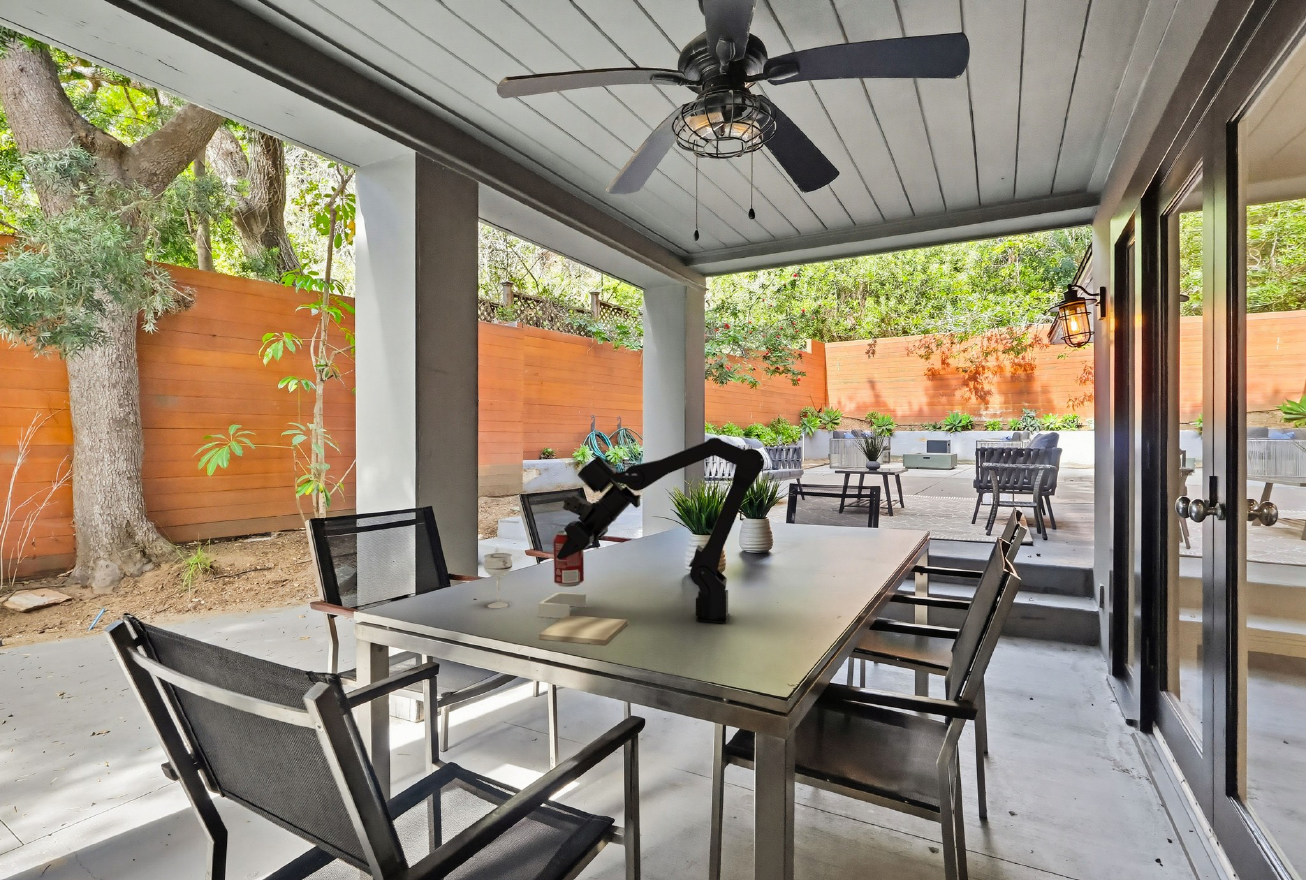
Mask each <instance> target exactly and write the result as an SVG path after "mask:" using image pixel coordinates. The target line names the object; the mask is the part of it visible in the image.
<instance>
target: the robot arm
mask: <svg viewBox="0 0 1306 880" xmlns="http://www.w3.org/2000/svg"><path fill="white" fill-rule="evenodd" d="M713 456H714V457H717V458H720V459H722V460H724V461H727V462H729V463H731V464H733V465H735V468H734V474H733V478H732V483H731V486H730V488H729V491H728V493H727V495H726V497H725V501H723V505H722V507H721V509H720V512H719V515H718V517H717V519H716V521H715V524H714V526H713V528H712V531H711V533H710V535H709V538H708V540H707V542H705V545H704V546H703V547H702V546H701V545H699V544H698V545H697V546H696V549H695V552H694V556H693V558H692V559H691V560H690V562H689V565H688V567H689V568H690V570H689V575H690V579H691V581H692V582H693V583H694V585H696V586H697V587H698V589H699V590H698V591H697V596H696V597H695V617H696V618H695V619H696V622H701V623H703V622H704V623H715V624H717V623H718V624H726V623H727V622H728V620H729V618H730V616H731V613H729V589H726V588H727V582H728V581H727V580H728V579H727V577H726V575H724V574H723V572H721V571H720V570H719V567H720V562H721V558H722V553H723V549H724V546H725V545H726V541H727V540H728V536H729V535H730V532H731V530H732V528H733V525H734V523H735V520H736V518H737V516H738V513H739V511H740V509H741V507H742V505H743V502H744V499H745V497H746V494H747V492H748V491H749V490H750V488H751V487H752V486H753V483H755V481H756V480H757V478H758V476H759V475H760V473H761V472H762V470H763V469H764V465H765V458H764V456H763V454H762V453H761V452H760V451H759V450H757V449H755V448H746V449H743V448H741V447H739V446H736V445H733V444H731V443H728V442H727V441H724V440H722V439H721V438H719V437H716V436H715V437H710V438H709V439H708V440H706V441H703V442H701V443H698V444H696V445H693V446H690V447H689V448H687V449H684V450H681V451H679V452H676V453H674V454H671V455H669V456H666V457H664V458H662V459H655V460H652V461H648V462H647V461H646V462H642V463H639V464H638V463H637V464H634V465H630V466H628V468H627V469H625V470H623V471H622V470H616V471H615V470H614V469H613V468H612V467H611V466H610V465H609V464H608V463H607V462H606V460H605V459H604V458H603V457H602V456H601V455H597V456H596V457H595V458H593V460H591V461H590V462H589V463H588V464H585V465H584V466H583V467H582V469H580V471H579V472H578V474H577V477H578V478H579V479H580V480H581V481H582V482H583V483H584V485H586V486H587V487H588V488H589V489H590V490H591V491H592V492H593V493H594V494H595V493H598V492H599V493H600V494H602V493H604V492H605V491H606V490H607V489H608V488H609V489H608V490H607V491H606V492H605V493H604V494H603V495H602V497H600V498H599V499H598V500H596V501H595V502H590V501H588V500H586V499H585V498H582V497H580V496H578V495H576V494H573V493H570V494H568V495H567V497H566V499H565V500H563V506H562V509H563V510H564V511H568V512H570V513H573V514H574V515H577V516H578V518H577V520H572V521H570V522H569V523H568V524H567V525H566V526H565V527H564V528H563V531H566V533H567V539H566V541H565V543H564V545H563V546H562V548H561V550H560V551H559V553H558V555H557V558H558V559H559V560H561V559H563V558H565V557H568V556H570V555H572V554H574V553H577V552H579V551H581V550H583V551H584V550H585V549H587V548H588V547H589V546H590V545H591V544H592V545H593V544H594V543H595V542H597V541H599V540H600V539H602V538H603V537H604V536H605V535H606V534H607V533H608V532H609V528H608V527H610V525H611V524H612V523H614V522H615V521H616V520H617V518H618V517H619V516H620V515H621V514H622V512H624V511H625V510H626V509H627V508H628V507H629V506H630V505H632V506H633V507H634V508H636V509H637V508H639V507H640V506H641V496H642V495H641V494H635V493H634V491H635V492H639V491H642V490H643V489H646V488H648V487H649V486H651V485H653V484H654V483H655V482H657V481H659V480H661V479H662V478H664V477H665V476H667V475H669V474H671V473H674V472H676V471H678V470H681V469H683V468H686V467H688V466H691V465H693V464H696V463H699V462H702V461H704V460H707V459H709V458H710V457H713ZM621 484H622V485H626V486H624V487H623V486H622V485H621ZM611 485H612V486H611ZM632 491H633V492H632Z"/></svg>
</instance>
